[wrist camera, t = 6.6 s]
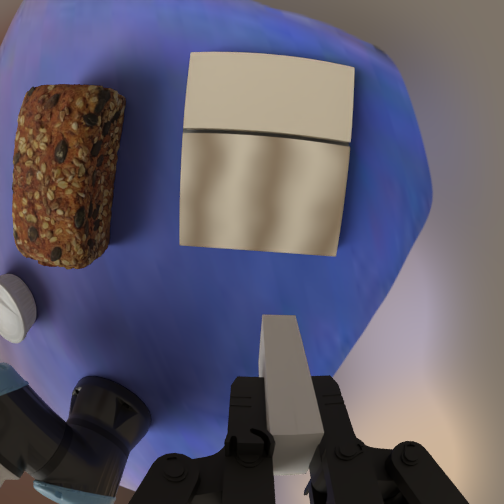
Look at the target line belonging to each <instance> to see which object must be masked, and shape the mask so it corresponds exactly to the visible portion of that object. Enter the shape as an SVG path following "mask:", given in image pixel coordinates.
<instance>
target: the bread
mask: <svg viewBox="0 0 504 504" xmlns="http://www.w3.org/2000/svg"><path fill="white" fill-rule="evenodd" d="M125 105H126V98H125V97H124V96H122V95H119V94H118V92H117V91H115V90H113V89H111V88H103V87H102V86H94V85H85V84H84V85H80V84H78V85H75V84H74V85H69V84H58V85H41V86H38V87H35V88H34V87H32V88H31V89H30V90H29V91H27V93H26V95H25V97H24V100H23V104H22V106H21V109H20V113H19V115H18V128H17V132H16V138H15V148H14V156H13V164H14V170H13V183H12V190H13V205H12V212H13V214H12V216H13V226H14V227H13V231H14V233H13V235H14V239H15V244H16V246H17V248H18V250H19V251H20V252H21V253H22V255H23V256H24V257H26V258H28V257H29V258H31V259H34V260H38V264H41V265H43V266H49V267H56V266H59V267H65V268H66V269H72V268H75V269H80V268H84V267H86V266H88V265H89V264H91V263H92V262H93V261H94V260H95V259H97V258H98V257H100V256H101V255H102V254H103V253H104V251H105V250H106V249H107V248H108V244H109V239H110V220H111V207H112V201H113V190H114V180H115V173H116V164H117V160H118V156H117V151H118V149H119V147H120V138H121V133H122V126H123V120H124V109H125Z"/></svg>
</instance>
